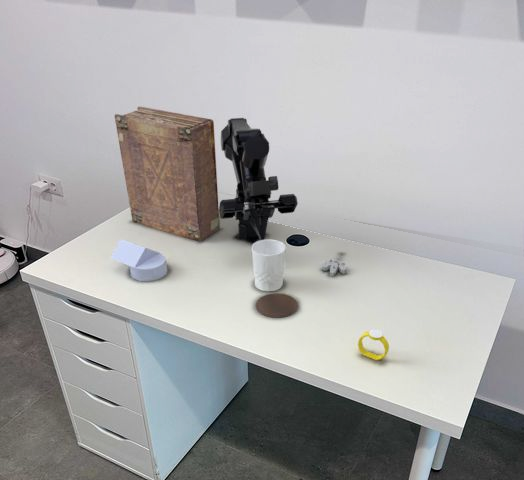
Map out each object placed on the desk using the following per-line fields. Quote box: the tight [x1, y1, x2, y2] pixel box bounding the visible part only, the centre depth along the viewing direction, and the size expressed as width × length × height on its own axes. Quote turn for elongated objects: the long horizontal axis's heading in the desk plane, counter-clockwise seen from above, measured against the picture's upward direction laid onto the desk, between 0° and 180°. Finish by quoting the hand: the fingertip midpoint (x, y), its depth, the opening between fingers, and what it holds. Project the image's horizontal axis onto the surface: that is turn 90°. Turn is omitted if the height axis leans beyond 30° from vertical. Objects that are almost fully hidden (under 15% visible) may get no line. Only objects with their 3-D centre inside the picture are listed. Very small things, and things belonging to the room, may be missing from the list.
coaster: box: [255, 292, 299, 319], centre depth 122 cm, size 10×10×1 cm
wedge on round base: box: [109, 238, 168, 282], centre depth 134 cm, size 9×7×13 cm
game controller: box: [322, 252, 347, 277], centre depth 136 cm, size 6×12×3 cm, turn 179°
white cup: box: [251, 238, 287, 292], centre depth 127 cm, size 8×8×10 cm
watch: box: [357, 328, 390, 361], centre depth 106 cm, size 6×3×6 cm, turn 58°
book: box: [114, 106, 221, 242], centre depth 146 cm, size 25×9×30 cm, turn 58°
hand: (262, 240), depth 130 cm, fingers closed
